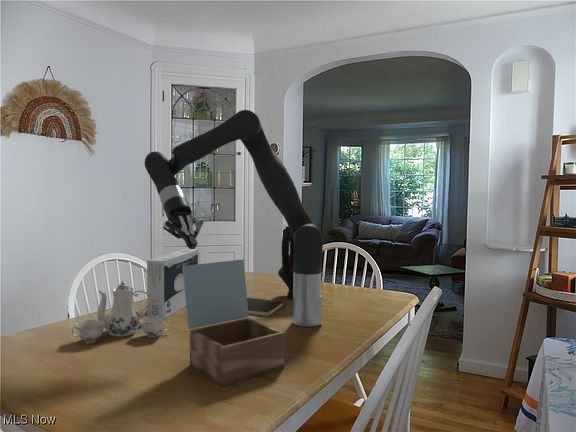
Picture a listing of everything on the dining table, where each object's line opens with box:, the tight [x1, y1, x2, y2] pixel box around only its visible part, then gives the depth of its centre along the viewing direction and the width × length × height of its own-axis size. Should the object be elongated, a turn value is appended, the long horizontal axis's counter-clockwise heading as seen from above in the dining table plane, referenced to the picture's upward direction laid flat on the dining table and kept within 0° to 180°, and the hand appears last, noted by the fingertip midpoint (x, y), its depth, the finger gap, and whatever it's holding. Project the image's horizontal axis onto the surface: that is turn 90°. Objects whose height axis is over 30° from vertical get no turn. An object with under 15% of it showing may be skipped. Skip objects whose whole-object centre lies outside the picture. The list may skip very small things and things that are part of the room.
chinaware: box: [71, 280, 173, 345], centre depth 137 cm, size 28×17×17 cm, turn 114°
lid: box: [183, 259, 250, 330], centre depth 122 cm, size 16×18×1 cm
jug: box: [277, 225, 323, 299], centre depth 188 cm, size 21×18×30 cm
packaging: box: [146, 248, 199, 318], centre depth 169 cm, size 30×6×20 cm, turn 168°
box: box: [189, 317, 286, 387], centre depth 115 cm, size 16×18×9 cm
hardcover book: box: [247, 297, 285, 317], centre depth 171 cm, size 16×23×2 cm
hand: (193, 247), depth 131 cm, fingers closed
